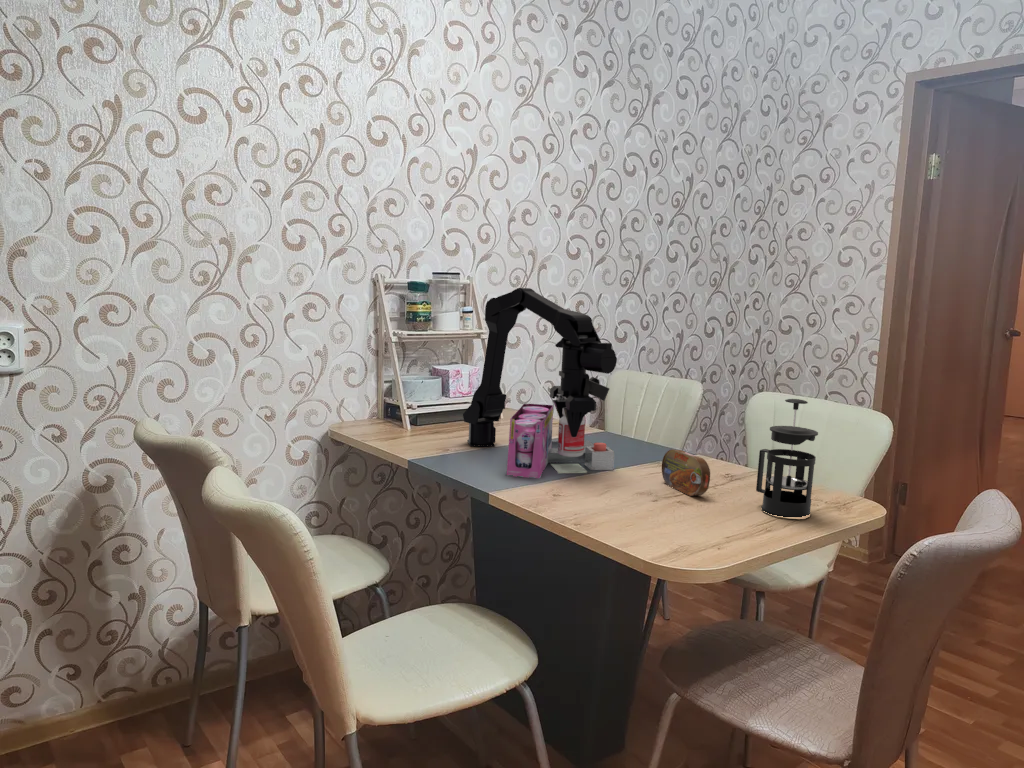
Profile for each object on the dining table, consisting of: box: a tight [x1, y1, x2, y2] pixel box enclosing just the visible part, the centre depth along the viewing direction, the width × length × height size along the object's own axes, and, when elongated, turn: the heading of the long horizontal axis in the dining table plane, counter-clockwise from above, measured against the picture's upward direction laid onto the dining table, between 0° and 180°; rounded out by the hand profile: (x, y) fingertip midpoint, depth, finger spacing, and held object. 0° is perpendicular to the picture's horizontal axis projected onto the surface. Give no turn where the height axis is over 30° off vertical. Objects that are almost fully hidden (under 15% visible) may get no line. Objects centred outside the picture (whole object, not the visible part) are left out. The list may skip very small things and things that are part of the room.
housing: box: [584, 445, 615, 471], centre depth 173 cm, size 6×6×4 cm
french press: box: [755, 398, 819, 517], centre depth 143 cm, size 12×9×23 cm
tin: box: [661, 449, 711, 497], centre depth 156 cm, size 15×3×8 cm, turn 21°
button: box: [593, 442, 607, 451], centre depth 173 cm, size 3×3×3 cm
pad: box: [550, 463, 588, 474], centre depth 171 cm, size 7×7×1 cm
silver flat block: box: [547, 440, 594, 464], centre depth 183 cm, size 16×13×2 cm
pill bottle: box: [557, 407, 586, 457], centre depth 170 cm, size 6×6×11 cm
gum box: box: [506, 403, 554, 479], centre depth 172 cm, size 24×8×14 cm, turn 170°
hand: (570, 433), depth 170 cm, fingers closed on pill bottle, 6 cm apart
